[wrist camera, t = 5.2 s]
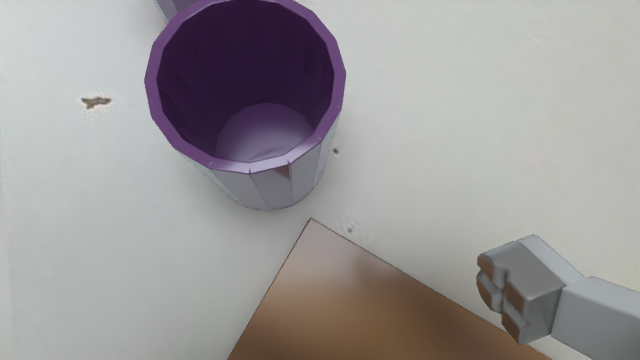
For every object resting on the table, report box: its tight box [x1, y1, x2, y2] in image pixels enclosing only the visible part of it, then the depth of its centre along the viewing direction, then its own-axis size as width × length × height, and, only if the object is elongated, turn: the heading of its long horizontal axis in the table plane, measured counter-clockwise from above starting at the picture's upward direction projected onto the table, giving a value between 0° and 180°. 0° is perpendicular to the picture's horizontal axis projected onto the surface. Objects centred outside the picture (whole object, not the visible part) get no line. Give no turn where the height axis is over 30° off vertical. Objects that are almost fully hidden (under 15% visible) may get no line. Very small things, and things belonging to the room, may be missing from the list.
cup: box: [144, 0, 346, 210], centre depth 18 cm, size 7×7×10 cm
